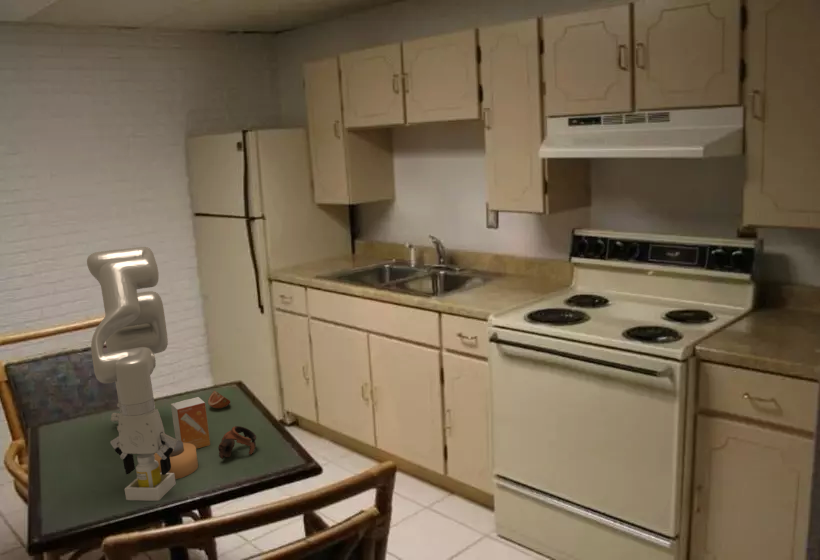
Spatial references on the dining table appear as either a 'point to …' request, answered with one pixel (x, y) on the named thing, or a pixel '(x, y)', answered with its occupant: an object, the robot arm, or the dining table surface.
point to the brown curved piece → (229, 442)
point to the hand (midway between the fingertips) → (148, 472)
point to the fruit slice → (218, 400)
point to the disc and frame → (181, 466)
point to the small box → (191, 422)
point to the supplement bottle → (148, 471)
